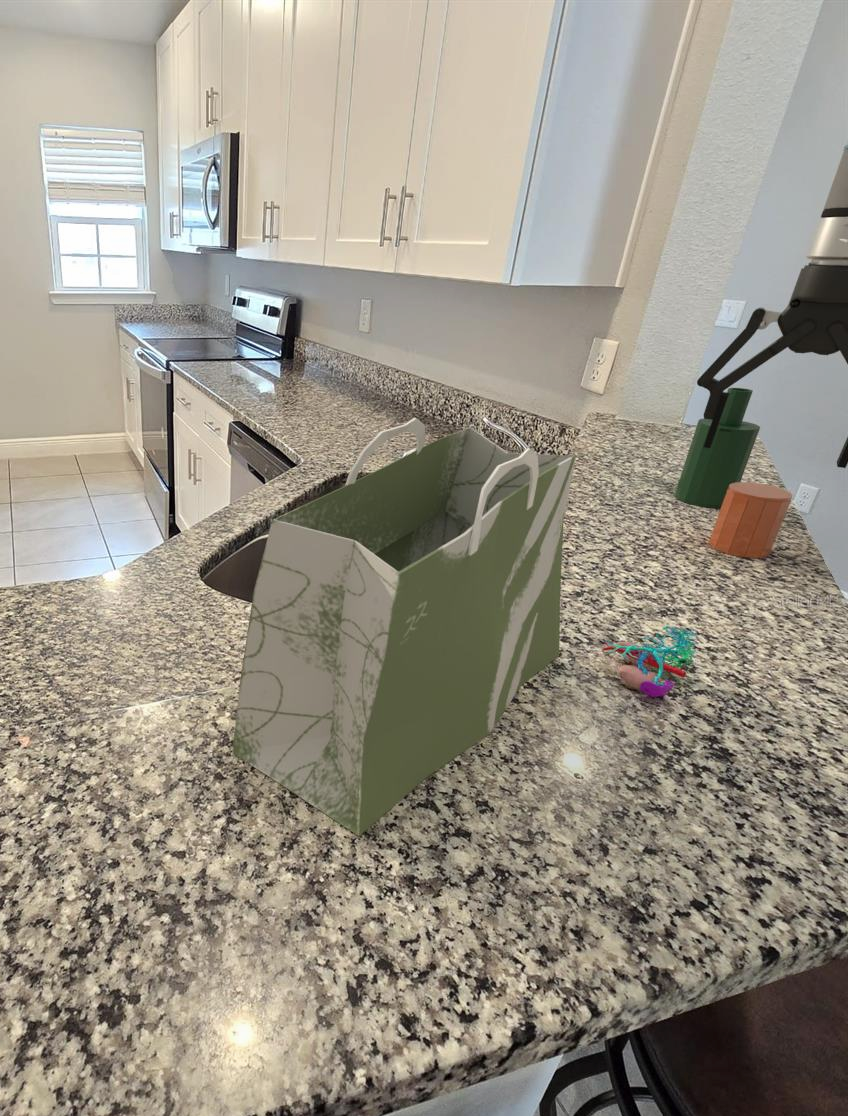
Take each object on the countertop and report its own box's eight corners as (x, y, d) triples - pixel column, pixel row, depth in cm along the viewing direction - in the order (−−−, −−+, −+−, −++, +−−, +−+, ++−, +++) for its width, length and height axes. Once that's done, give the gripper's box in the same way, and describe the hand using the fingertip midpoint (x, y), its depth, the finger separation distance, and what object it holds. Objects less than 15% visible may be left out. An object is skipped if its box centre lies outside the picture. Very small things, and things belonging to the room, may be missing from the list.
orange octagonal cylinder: (769, 546, 89) (793, 488, 85) (767, 562, 84) (792, 502, 80) (711, 534, 92) (731, 478, 89) (706, 549, 88) (726, 491, 84)
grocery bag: (375, 847, 43) (421, 508, 32) (226, 748, 52) (223, 454, 41) (565, 658, 64) (631, 412, 53) (436, 609, 72) (470, 389, 61)
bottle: (733, 498, 106) (773, 389, 99) (729, 511, 101) (771, 396, 93) (678, 488, 111) (712, 383, 103) (671, 501, 105) (706, 390, 97)
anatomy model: (595, 635, 59) (684, 655, 54) (621, 605, 64) (705, 620, 60) (588, 686, 61) (674, 709, 56) (614, 653, 66) (694, 671, 62)
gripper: (709, 260, 76) (654, 444, 86) (1014, 266, 63) (907, 482, 73) (716, 260, 82) (662, 433, 92) (998, 266, 69) (900, 466, 79)
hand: (771, 455), depth 82 cm, fingers open, 13 cm apart
